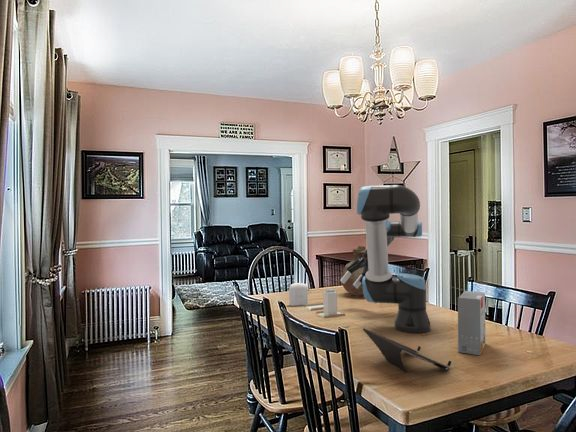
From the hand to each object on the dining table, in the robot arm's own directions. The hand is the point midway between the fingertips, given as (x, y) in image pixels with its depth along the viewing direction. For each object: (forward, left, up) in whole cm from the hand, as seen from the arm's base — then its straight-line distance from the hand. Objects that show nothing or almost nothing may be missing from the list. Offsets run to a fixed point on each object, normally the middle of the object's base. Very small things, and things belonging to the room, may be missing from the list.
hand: (348, 284), depth 203 cm
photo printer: (+30, +15, -15) cm, 37 cm away
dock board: (+8, +10, -15) cm, 20 cm away
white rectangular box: (0, +10, -14) cm, 17 cm away
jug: (+38, -28, -15) cm, 49 cm away
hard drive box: (-62, -18, -15) cm, 67 cm away
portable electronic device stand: (-66, +14, -16) cm, 69 cm away
